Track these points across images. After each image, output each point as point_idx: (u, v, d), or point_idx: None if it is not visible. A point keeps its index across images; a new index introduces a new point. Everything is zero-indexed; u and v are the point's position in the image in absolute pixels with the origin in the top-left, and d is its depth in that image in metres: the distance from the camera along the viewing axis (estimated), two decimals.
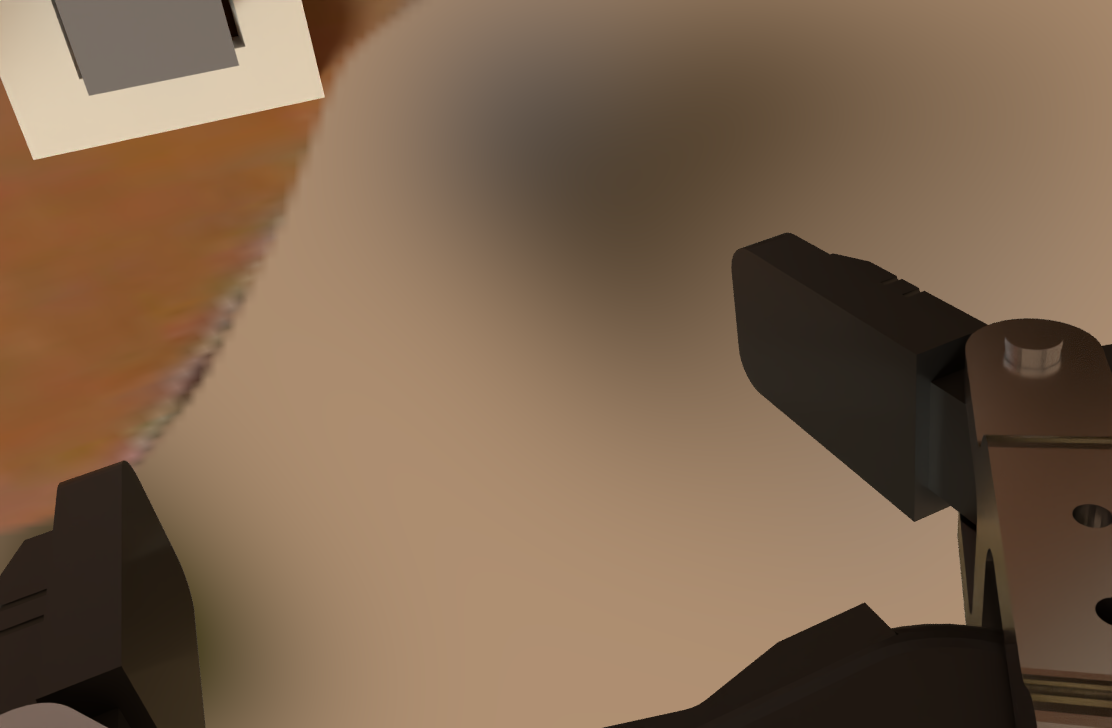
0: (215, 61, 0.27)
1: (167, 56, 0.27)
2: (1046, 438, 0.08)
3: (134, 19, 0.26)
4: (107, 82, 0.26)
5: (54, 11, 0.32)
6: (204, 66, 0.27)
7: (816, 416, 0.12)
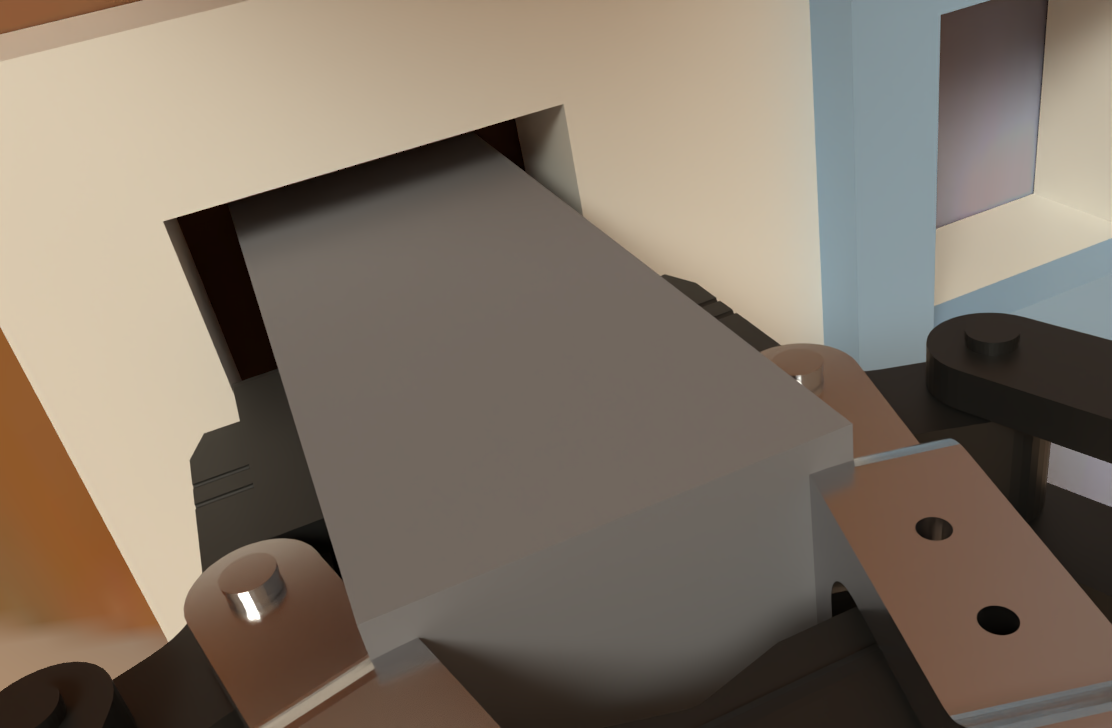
0: None
1: None
2: (860, 460, 0.08)
3: (612, 696, 0.08)
4: None
5: (329, 169, 0.13)
6: None
7: None
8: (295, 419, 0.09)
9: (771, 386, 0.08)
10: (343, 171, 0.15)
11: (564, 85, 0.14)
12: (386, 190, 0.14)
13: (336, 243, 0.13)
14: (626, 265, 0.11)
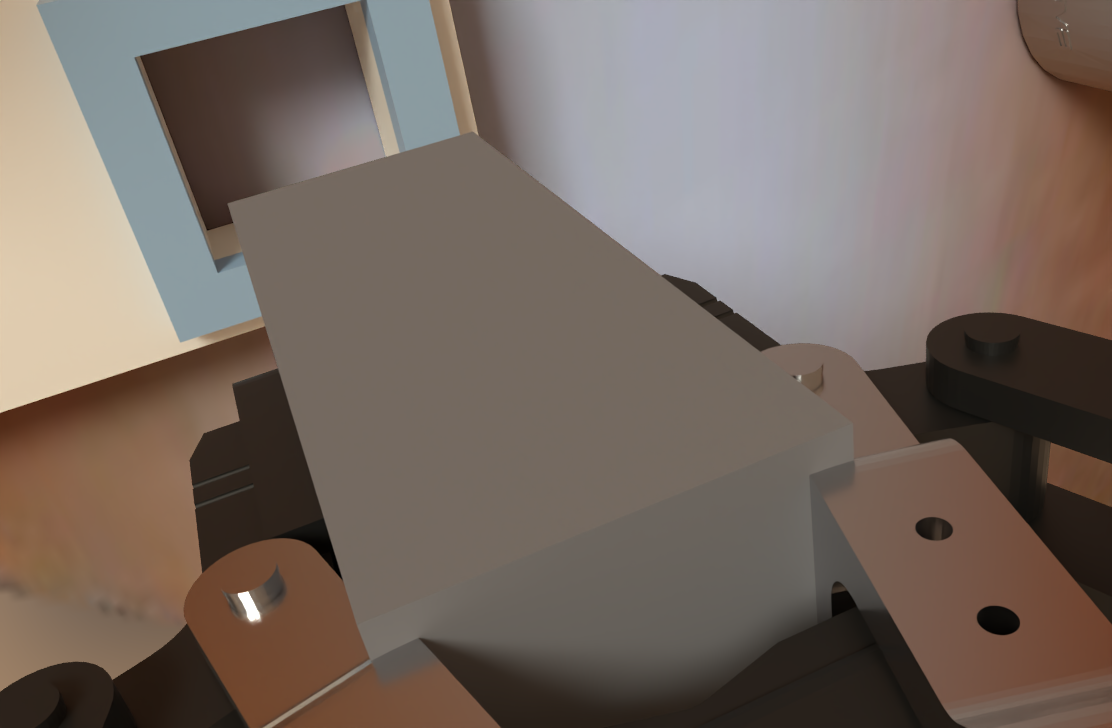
0: None
1: None
2: (860, 460, 0.08)
3: (612, 696, 0.08)
4: None
5: None
6: None
7: None
8: (295, 419, 0.09)
9: (772, 386, 0.08)
10: (343, 171, 0.15)
11: None
12: (386, 190, 0.14)
13: (337, 243, 0.13)
14: (626, 263, 0.11)
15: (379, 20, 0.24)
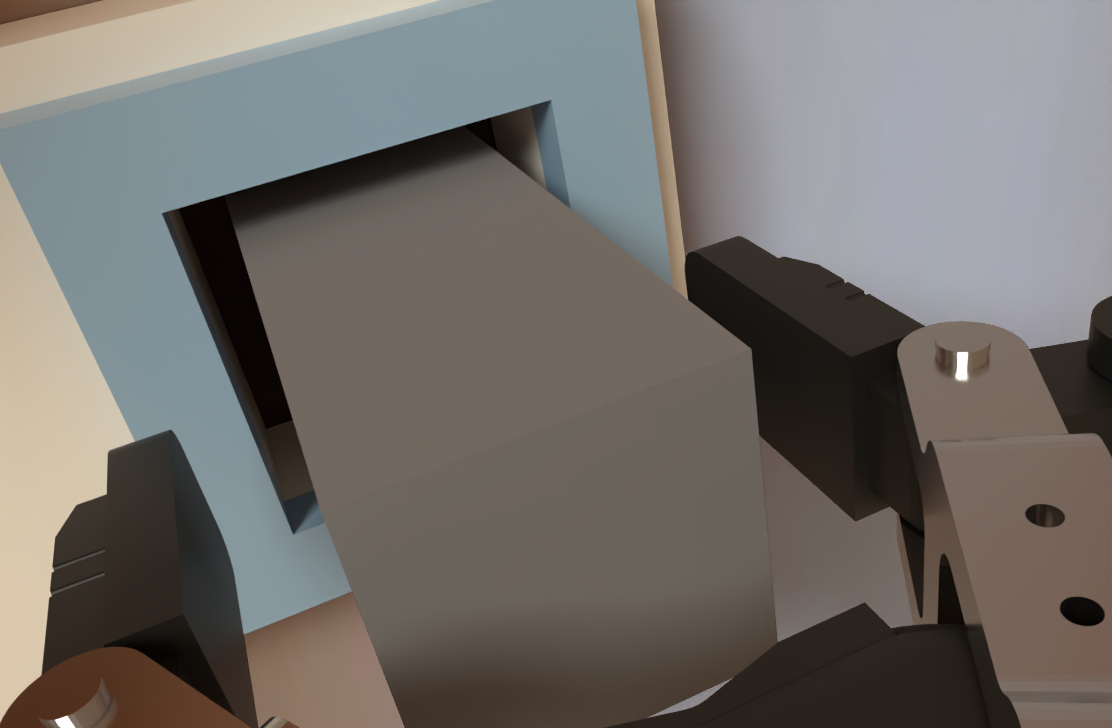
0: None
1: (454, 669, 0.09)
2: (990, 440, 0.08)
3: (547, 588, 0.09)
4: (369, 554, 0.08)
5: None
6: None
7: (765, 417, 0.13)
8: (275, 357, 0.10)
9: (687, 322, 0.10)
10: None
11: None
12: (364, 165, 0.15)
13: (318, 212, 0.14)
14: (574, 225, 0.12)
15: (568, 133, 0.14)
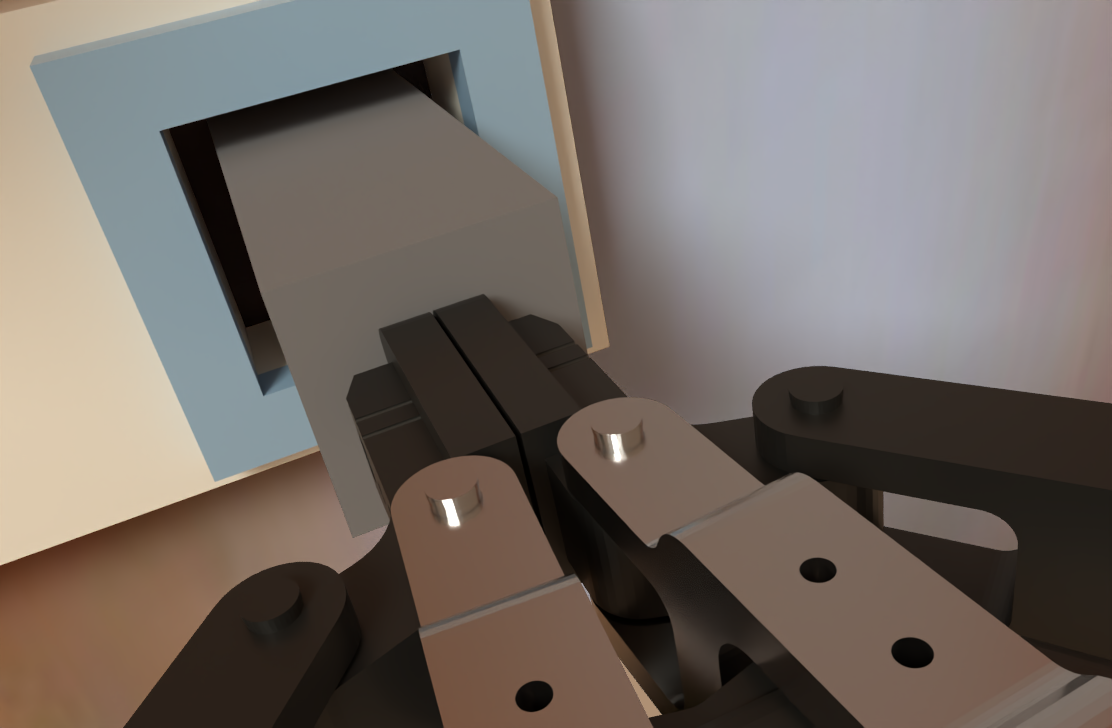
0: (356, 501, 0.14)
1: None
2: (721, 513, 0.08)
3: None
4: (294, 326, 0.12)
5: None
6: (344, 484, 0.14)
7: None
8: (238, 220, 0.15)
9: (522, 186, 0.14)
10: (291, 95, 0.21)
11: None
12: (319, 104, 0.20)
13: (279, 135, 0.18)
14: (464, 135, 0.16)
15: (475, 76, 0.19)
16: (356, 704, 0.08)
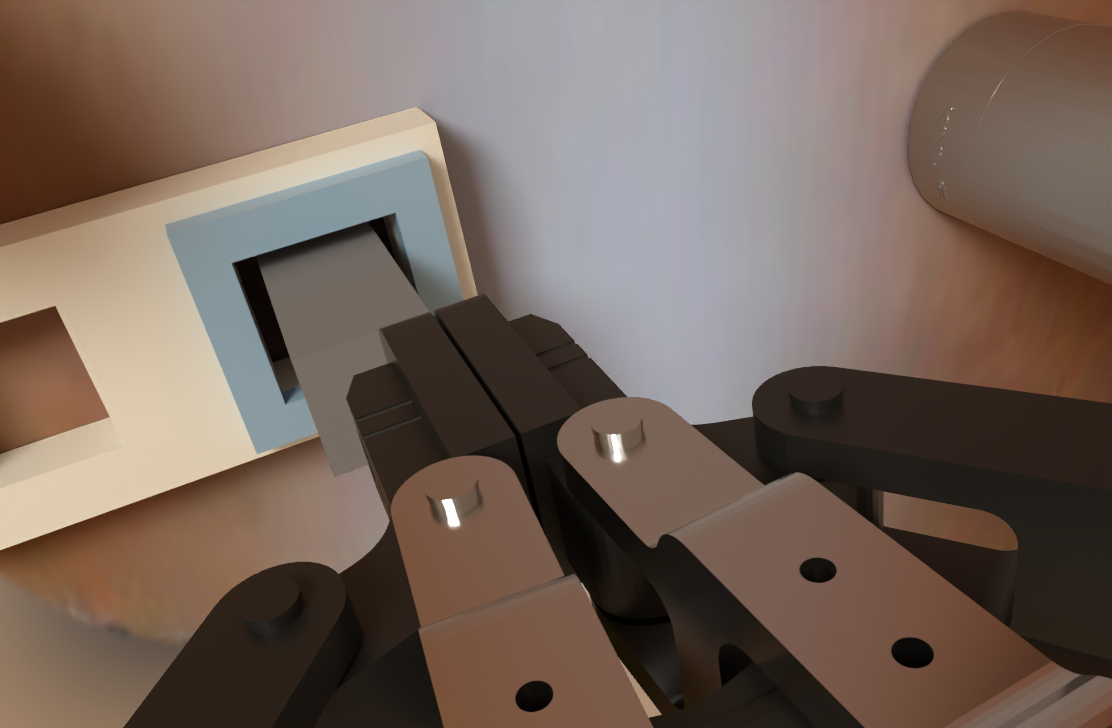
0: (336, 458, 0.28)
1: (336, 420, 0.28)
2: (722, 513, 0.08)
3: None
4: (306, 375, 0.27)
5: None
6: (330, 450, 0.28)
7: None
8: (277, 318, 0.29)
9: (416, 305, 0.28)
10: None
11: (53, 298, 0.31)
12: (317, 237, 0.34)
13: (295, 260, 0.33)
14: (394, 269, 0.31)
15: (404, 226, 0.33)
16: (356, 704, 0.08)
